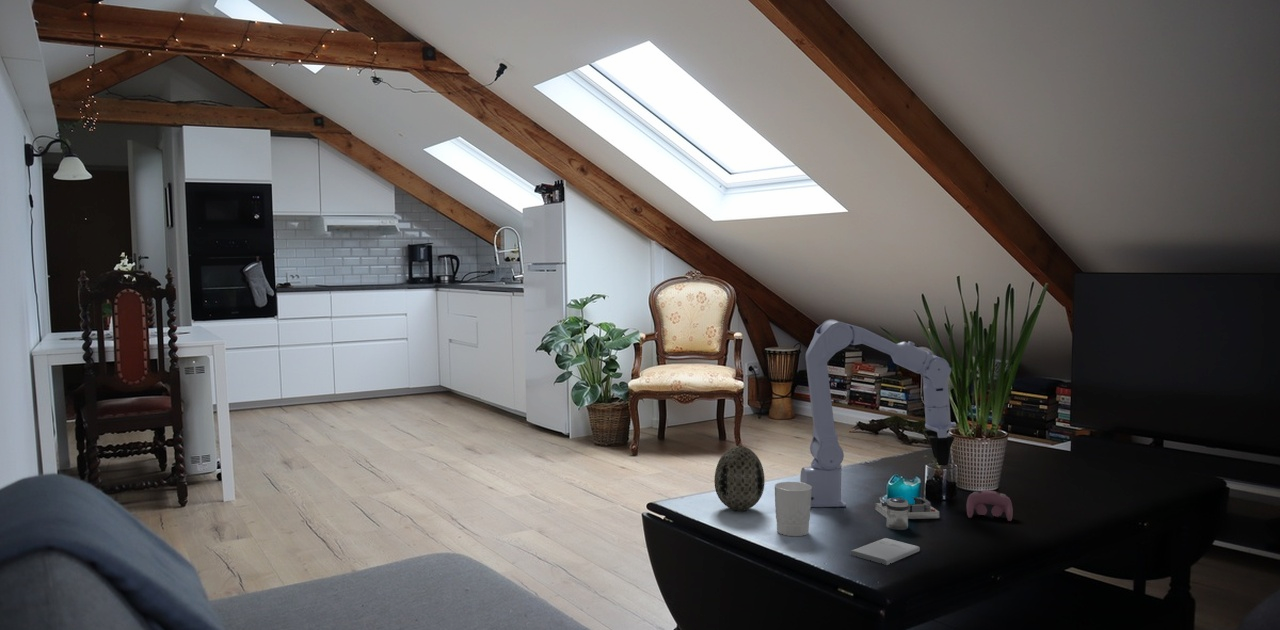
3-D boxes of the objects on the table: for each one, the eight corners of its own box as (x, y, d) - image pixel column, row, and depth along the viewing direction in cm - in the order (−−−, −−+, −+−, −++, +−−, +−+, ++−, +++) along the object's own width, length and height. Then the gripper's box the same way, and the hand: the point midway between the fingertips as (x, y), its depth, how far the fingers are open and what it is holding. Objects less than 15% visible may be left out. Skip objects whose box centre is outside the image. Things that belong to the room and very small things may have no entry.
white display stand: (887, 519, 202) (888, 506, 201) (875, 509, 209) (875, 497, 209) (939, 518, 203) (939, 505, 202) (924, 508, 211) (925, 496, 210)
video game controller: (1011, 525, 203) (1011, 494, 206) (1013, 521, 199) (1013, 489, 202) (965, 520, 206) (966, 490, 209) (966, 516, 202) (966, 486, 205)
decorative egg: (703, 509, 209) (704, 446, 208) (734, 500, 217) (734, 439, 216) (744, 519, 201) (745, 453, 200) (774, 509, 209) (775, 446, 209)
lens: (890, 530, 194) (891, 502, 193) (883, 523, 198) (883, 497, 198) (911, 529, 194) (911, 502, 194) (903, 523, 199) (903, 496, 198)
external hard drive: (850, 557, 177) (883, 544, 186) (886, 568, 171) (919, 553, 180) (850, 549, 177) (884, 536, 186) (886, 559, 171) (920, 545, 180)
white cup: (802, 539, 186) (803, 492, 186) (768, 533, 191) (768, 487, 190) (816, 530, 193) (817, 484, 193) (782, 524, 197) (783, 480, 197)
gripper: (958, 410, 206) (962, 468, 207) (950, 399, 220) (954, 453, 221) (927, 411, 207) (931, 469, 208) (920, 401, 221) (924, 455, 222)
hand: (940, 461), depth 214 cm, fingers open, 7 cm apart
